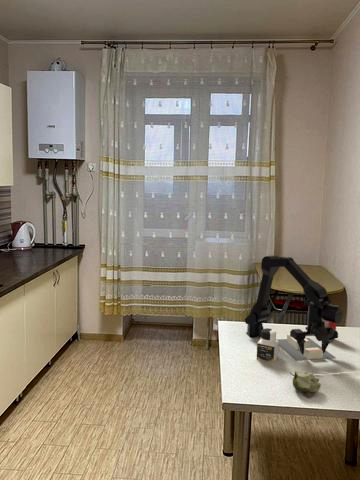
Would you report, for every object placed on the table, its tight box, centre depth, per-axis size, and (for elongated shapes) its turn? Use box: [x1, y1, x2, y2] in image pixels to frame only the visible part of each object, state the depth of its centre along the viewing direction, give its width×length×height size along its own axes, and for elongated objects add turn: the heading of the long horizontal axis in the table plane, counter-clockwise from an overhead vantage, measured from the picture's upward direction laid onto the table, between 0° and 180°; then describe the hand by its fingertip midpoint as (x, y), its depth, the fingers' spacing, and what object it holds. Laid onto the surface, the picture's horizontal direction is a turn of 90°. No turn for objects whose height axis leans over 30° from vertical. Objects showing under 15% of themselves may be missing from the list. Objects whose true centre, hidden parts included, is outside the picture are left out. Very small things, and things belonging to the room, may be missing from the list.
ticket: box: [286, 333, 310, 349], centre depth 184 cm, size 6×10×3 cm, turn 11°
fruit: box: [289, 370, 322, 400], centre depth 143 cm, size 9×9×8 cm
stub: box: [303, 347, 323, 360], centre depth 171 cm, size 6×5×3 cm
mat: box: [276, 337, 337, 362], centre depth 180 cm, size 18×23×1 cm
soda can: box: [322, 319, 337, 342], centre depth 192 cm, size 7×7×12 cm
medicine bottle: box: [256, 327, 280, 363], centre depth 169 cm, size 7×7×12 cm
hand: (312, 353), depth 171 cm, fingers open, 9 cm apart
